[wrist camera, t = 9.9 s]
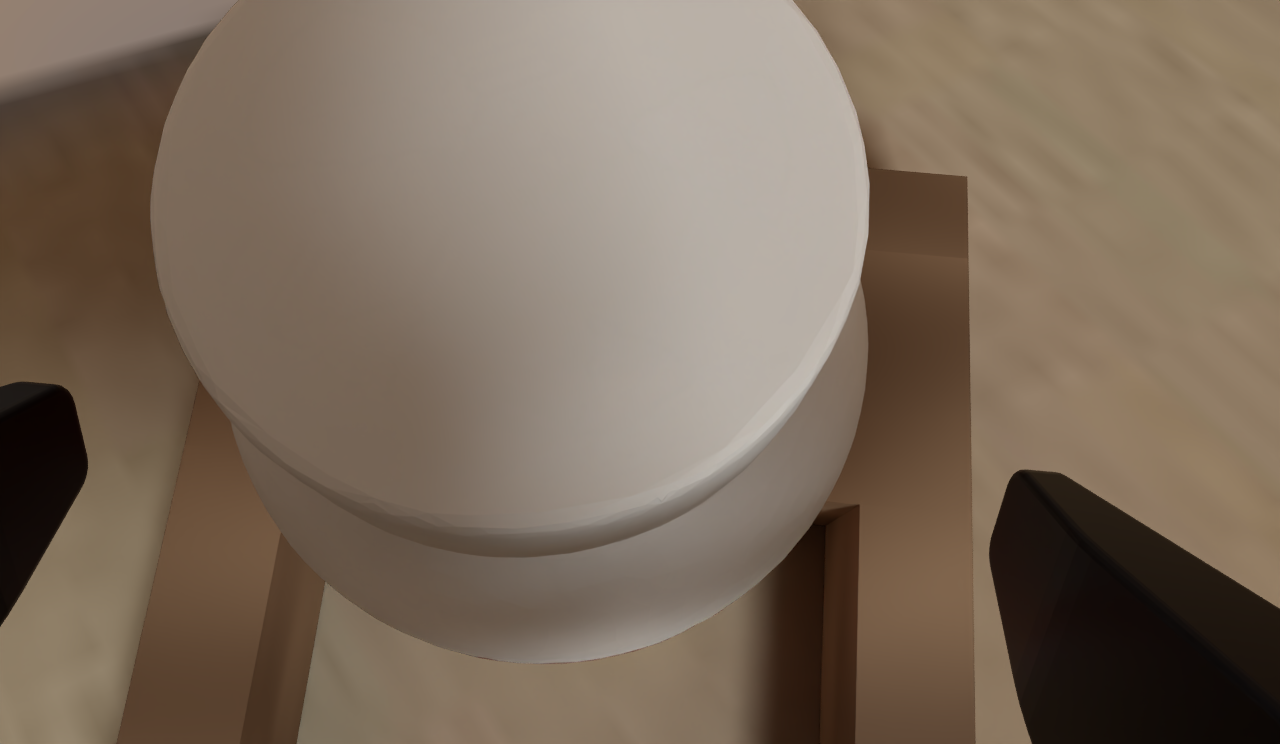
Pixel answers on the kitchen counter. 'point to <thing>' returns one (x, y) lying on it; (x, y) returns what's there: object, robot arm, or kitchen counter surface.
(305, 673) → the wooden rectangular frame
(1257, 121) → the kitchen counter surface
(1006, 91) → the kitchen counter surface
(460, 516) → the pill bottle
